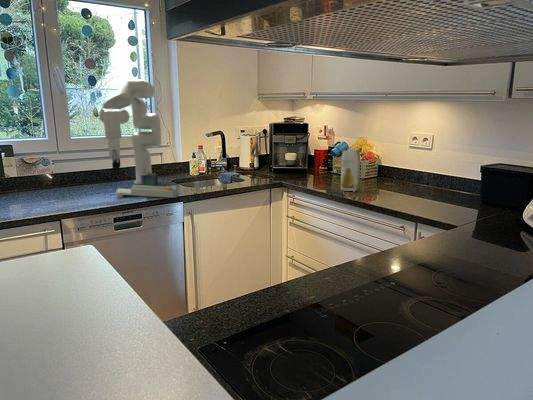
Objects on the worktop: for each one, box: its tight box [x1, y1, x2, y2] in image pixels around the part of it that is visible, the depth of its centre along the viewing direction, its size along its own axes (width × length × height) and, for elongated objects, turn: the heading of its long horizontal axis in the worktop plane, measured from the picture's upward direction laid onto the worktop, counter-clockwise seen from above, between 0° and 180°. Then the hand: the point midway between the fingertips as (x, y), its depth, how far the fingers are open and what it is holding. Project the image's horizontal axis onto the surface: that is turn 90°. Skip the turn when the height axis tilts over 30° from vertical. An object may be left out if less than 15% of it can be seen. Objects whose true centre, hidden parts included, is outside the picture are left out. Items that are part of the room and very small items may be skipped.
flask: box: [140, 171, 159, 186], centre depth 233 cm, size 9×3×11 cm, turn 109°
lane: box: [115, 184, 178, 199], centre depth 215 cm, size 11×30×6 cm, turn 106°
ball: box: [164, 185, 172, 191], centre depth 218 cm, size 4×4×4 cm
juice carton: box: [340, 147, 361, 193], centre depth 227 cm, size 9×8×24 cm
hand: (116, 168), depth 209 cm, fingers open, 9 cm apart
